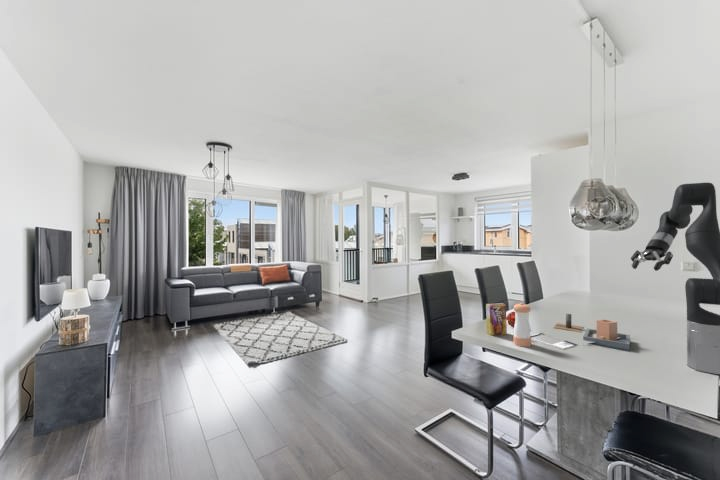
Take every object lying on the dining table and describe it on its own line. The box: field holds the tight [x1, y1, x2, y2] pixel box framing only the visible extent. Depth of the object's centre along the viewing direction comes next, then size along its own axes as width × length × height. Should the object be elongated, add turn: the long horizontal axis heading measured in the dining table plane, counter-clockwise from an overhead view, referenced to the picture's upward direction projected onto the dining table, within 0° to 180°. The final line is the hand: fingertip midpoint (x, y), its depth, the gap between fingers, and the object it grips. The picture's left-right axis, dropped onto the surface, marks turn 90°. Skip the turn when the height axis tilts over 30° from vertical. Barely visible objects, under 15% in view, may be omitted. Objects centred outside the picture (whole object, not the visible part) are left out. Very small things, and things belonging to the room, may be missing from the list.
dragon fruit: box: [506, 311, 515, 327], centre depth 168 cm, size 8×8×12 cm
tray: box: [582, 328, 631, 352], centre depth 141 cm, size 16×16×3 cm
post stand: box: [553, 313, 585, 334], centre depth 159 cm, size 12×12×8 cm
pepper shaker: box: [512, 302, 532, 348], centre depth 140 cm, size 7×7×19 cm
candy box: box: [485, 302, 508, 336], centre depth 156 cm, size 9×4×15 cm, turn 96°
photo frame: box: [530, 332, 579, 350], centre depth 144 cm, size 15×1×18 cm
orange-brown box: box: [596, 318, 618, 341], centre depth 141 cm, size 5×7×9 cm
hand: (644, 268), depth 144 cm, fingers open, 8 cm apart
